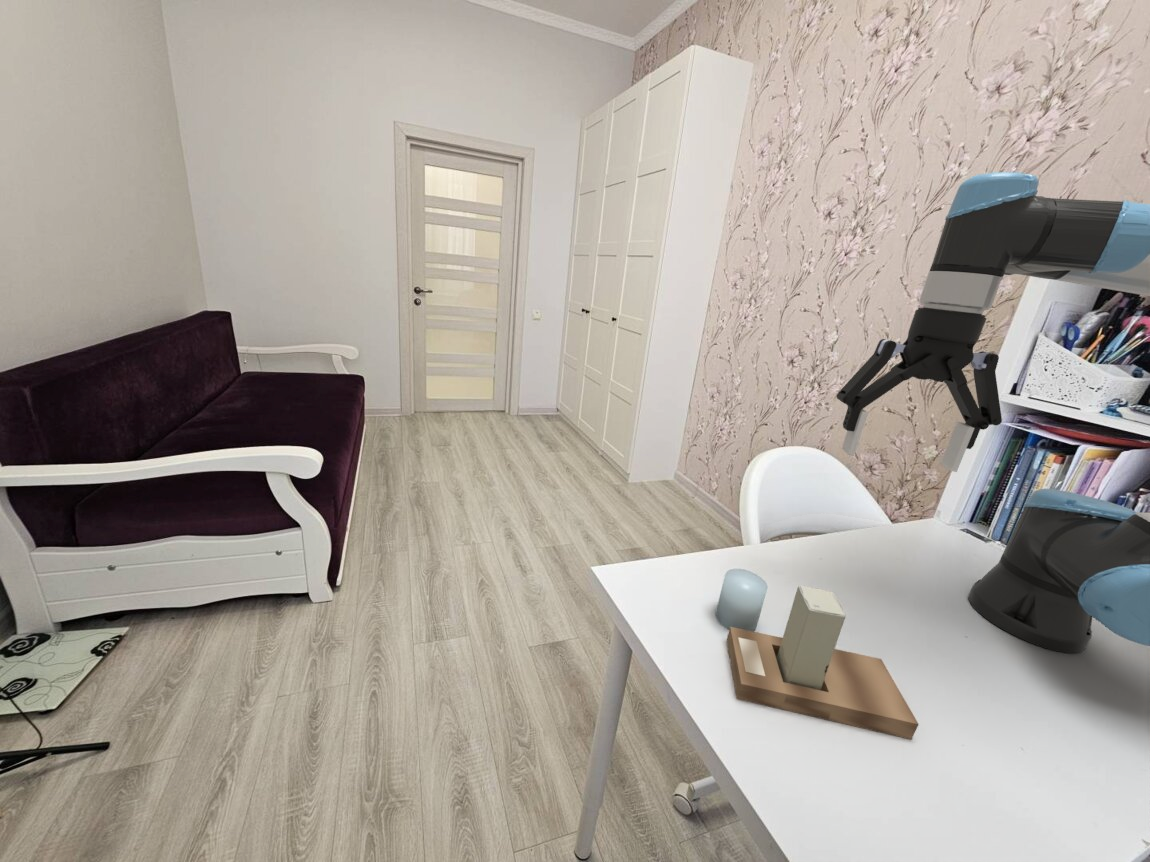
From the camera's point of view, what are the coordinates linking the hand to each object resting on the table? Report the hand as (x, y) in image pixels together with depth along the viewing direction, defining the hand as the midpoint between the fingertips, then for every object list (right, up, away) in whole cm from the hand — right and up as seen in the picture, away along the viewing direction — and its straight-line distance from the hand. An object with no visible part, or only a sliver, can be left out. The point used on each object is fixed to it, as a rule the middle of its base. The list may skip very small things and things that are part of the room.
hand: (897, 460), depth 68 cm
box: (-18, -29, -6) cm, 34 cm away
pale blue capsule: (-22, -24, +4) cm, 33 cm away
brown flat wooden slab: (-16, -29, -7) cm, 34 cm away
